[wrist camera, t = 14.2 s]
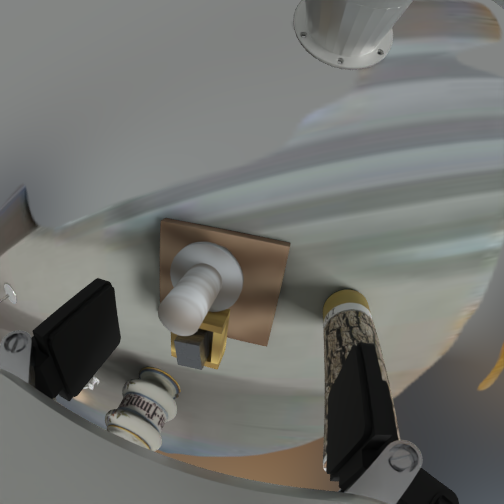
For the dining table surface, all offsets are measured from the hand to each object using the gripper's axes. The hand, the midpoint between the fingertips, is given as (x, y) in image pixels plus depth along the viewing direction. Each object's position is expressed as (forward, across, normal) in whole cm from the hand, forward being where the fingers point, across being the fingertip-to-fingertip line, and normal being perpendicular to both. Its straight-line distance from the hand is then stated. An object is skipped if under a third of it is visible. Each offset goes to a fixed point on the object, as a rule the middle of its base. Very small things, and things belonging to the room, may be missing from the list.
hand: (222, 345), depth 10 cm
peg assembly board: (+28, +7, +14) cm, 33 cm away
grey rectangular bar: (+27, +7, +18) cm, 33 cm away
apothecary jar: (+28, +18, +43) cm, 55 cm away
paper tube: (+28, -12, +14) cm, 34 cm away
